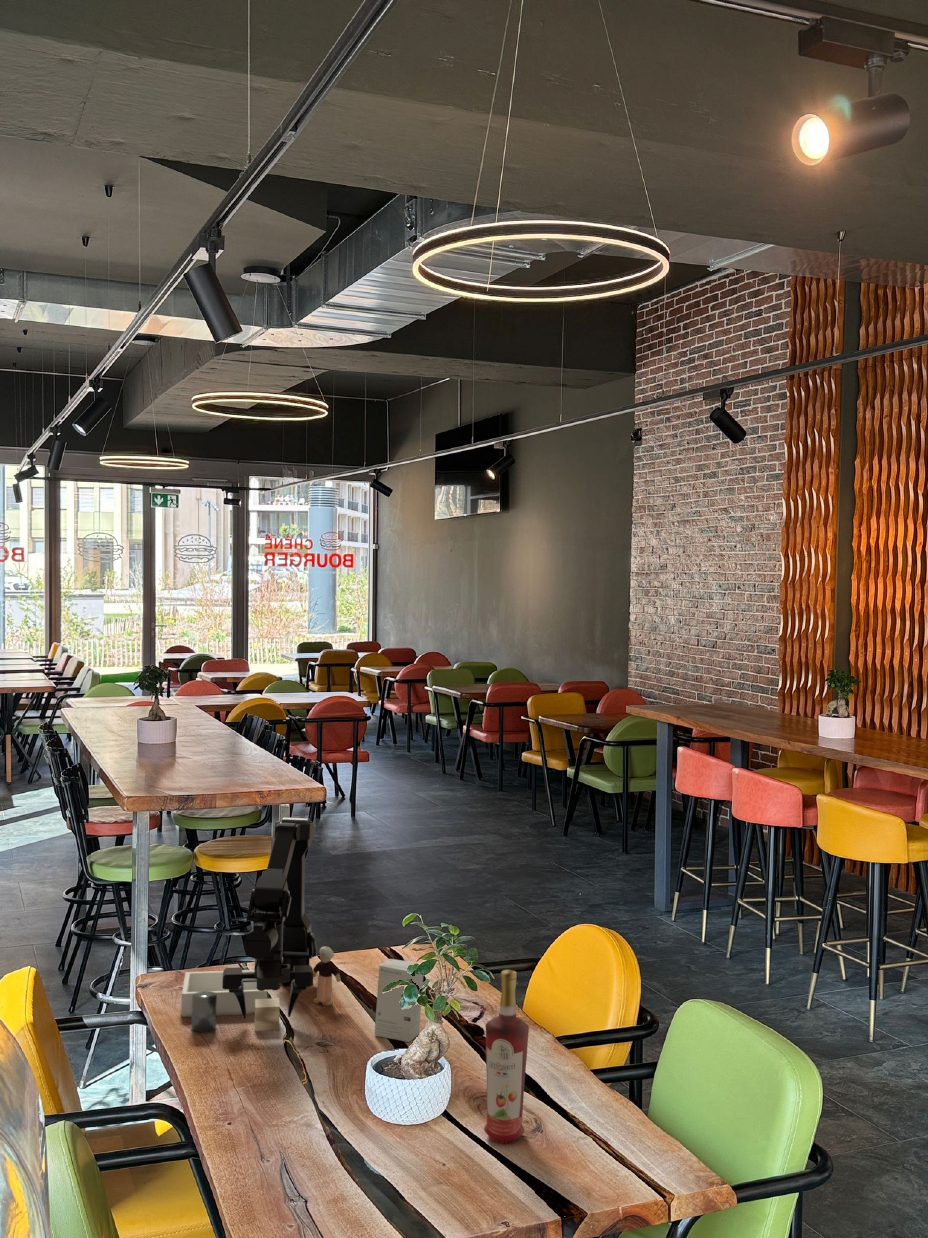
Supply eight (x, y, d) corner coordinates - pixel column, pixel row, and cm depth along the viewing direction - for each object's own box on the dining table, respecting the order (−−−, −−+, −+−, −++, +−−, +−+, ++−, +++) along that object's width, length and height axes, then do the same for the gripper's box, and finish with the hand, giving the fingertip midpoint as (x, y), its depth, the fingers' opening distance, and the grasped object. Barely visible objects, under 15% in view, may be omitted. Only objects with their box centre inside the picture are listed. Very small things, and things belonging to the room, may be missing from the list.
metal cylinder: (216, 1023, 231) (217, 990, 231) (215, 1033, 226) (216, 999, 226) (192, 1024, 230) (192, 991, 230) (190, 1034, 225) (191, 1000, 225)
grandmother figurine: (305, 1003, 244) (307, 947, 244) (312, 998, 248) (314, 942, 247) (337, 1008, 242) (338, 951, 242) (344, 1002, 245) (345, 946, 245)
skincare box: (374, 1037, 226) (376, 965, 226) (385, 1026, 232) (387, 957, 232) (411, 1043, 223) (413, 971, 223) (422, 1033, 229) (424, 962, 229)
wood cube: (278, 1021, 233) (279, 998, 233) (278, 1030, 228) (279, 1006, 228) (254, 1022, 232) (255, 999, 232) (254, 1031, 227) (255, 1007, 227)
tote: (265, 991, 251) (266, 969, 251) (266, 1013, 237) (266, 990, 237) (185, 994, 248) (185, 972, 248) (181, 1017, 234) (181, 994, 234)
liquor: (529, 1131, 187) (534, 968, 187) (519, 1151, 180) (524, 982, 180) (488, 1124, 189) (493, 963, 189) (477, 1143, 182) (482, 976, 182)
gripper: (222, 957, 221) (220, 1034, 221) (315, 954, 224) (313, 1030, 224) (224, 940, 232) (222, 1014, 232) (312, 938, 235) (310, 1010, 235)
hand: (266, 1017), depth 230 cm, fingers open, 9 cm apart
